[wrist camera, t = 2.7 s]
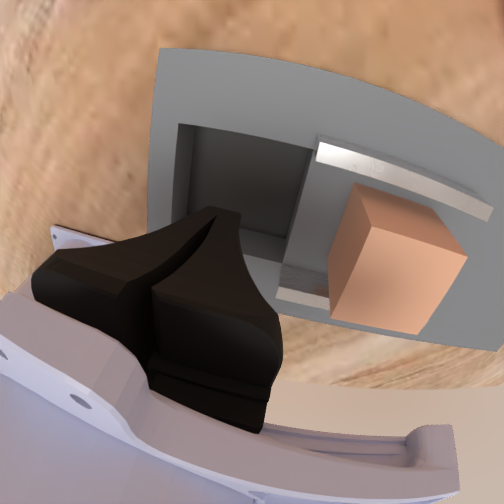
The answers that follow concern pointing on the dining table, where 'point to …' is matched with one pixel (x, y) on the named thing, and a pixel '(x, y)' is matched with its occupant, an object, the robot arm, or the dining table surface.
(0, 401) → the robot arm
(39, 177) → the dining table surface
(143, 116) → the dining table surface
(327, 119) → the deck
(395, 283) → the block
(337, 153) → the rails
